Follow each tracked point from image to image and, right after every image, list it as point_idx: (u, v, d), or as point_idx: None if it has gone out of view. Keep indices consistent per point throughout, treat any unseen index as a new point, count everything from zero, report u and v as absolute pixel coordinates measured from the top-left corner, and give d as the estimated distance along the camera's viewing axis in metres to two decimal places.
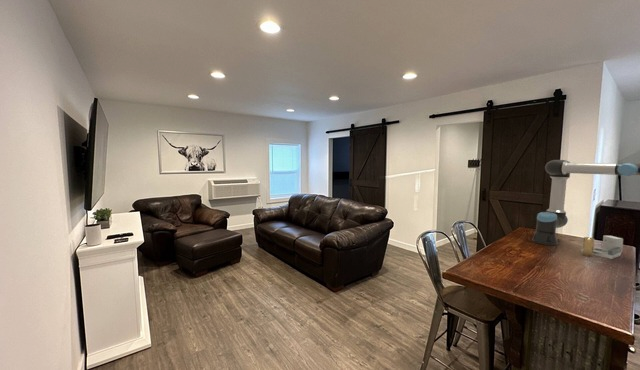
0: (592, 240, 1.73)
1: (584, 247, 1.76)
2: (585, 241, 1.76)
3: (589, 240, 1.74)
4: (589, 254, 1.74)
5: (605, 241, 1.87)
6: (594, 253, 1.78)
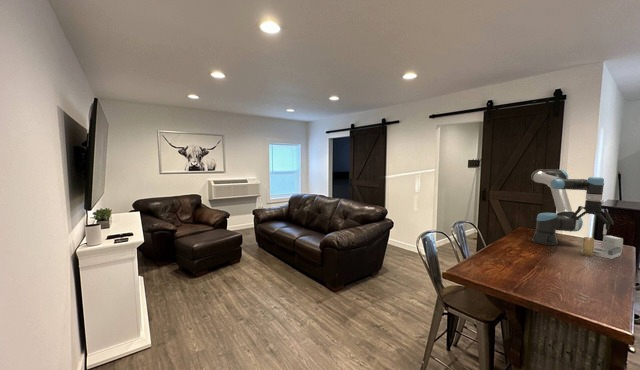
0: (592, 240, 1.73)
1: (584, 247, 1.76)
2: (585, 241, 1.76)
3: (589, 240, 1.74)
4: (589, 254, 1.74)
5: (605, 241, 1.87)
6: (594, 253, 1.78)
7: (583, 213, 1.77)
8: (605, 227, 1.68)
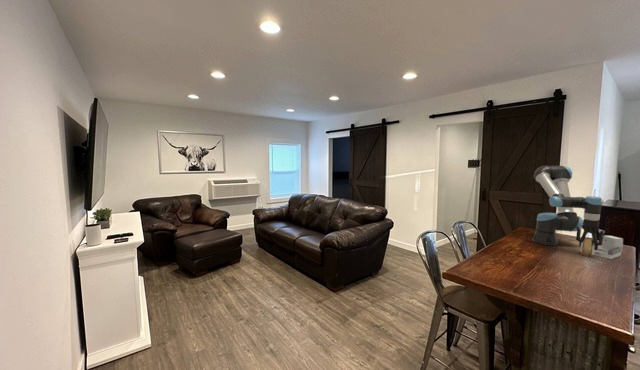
0: (592, 240, 1.73)
1: (584, 247, 1.76)
2: (585, 241, 1.76)
3: (589, 240, 1.74)
4: (589, 254, 1.74)
5: (605, 241, 1.87)
6: None
7: (584, 233, 1.77)
8: (594, 248, 1.73)
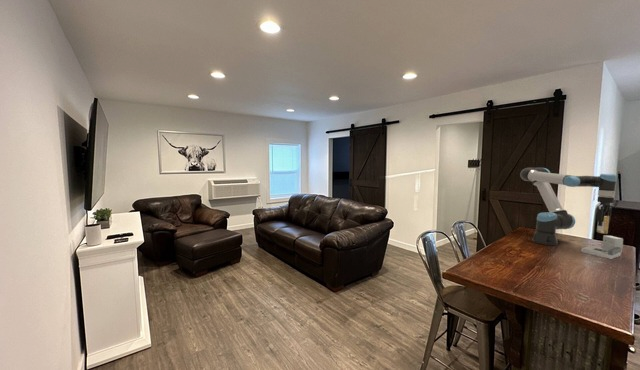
0: None
1: (606, 225, 1.75)
2: (607, 219, 1.75)
3: None
4: None
5: (605, 241, 1.87)
6: (594, 253, 1.78)
7: (604, 212, 1.75)
8: None
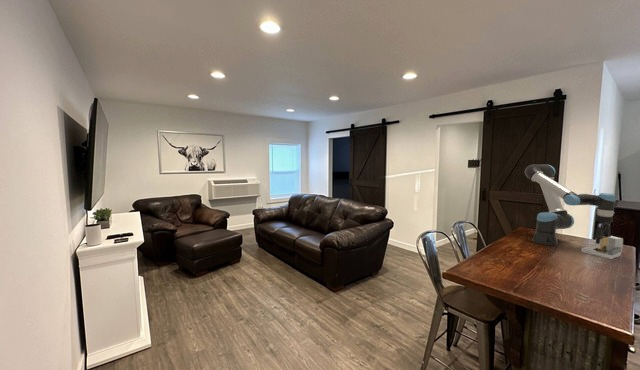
0: None
1: (605, 247, 1.77)
2: (606, 241, 1.77)
3: (607, 239, 1.78)
4: None
5: None
6: (594, 253, 1.78)
7: (603, 230, 1.76)
8: None
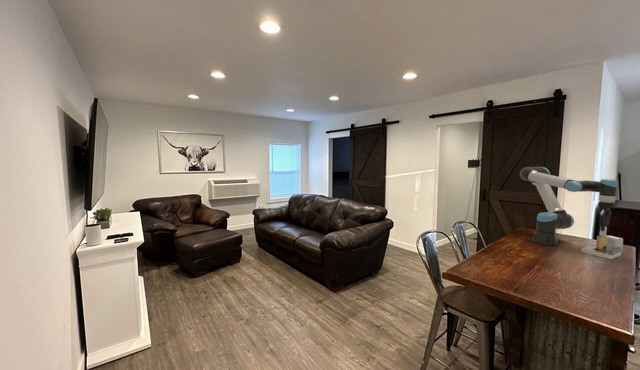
0: None
1: (605, 247, 1.77)
2: (606, 241, 1.77)
3: (607, 239, 1.78)
4: None
5: None
6: (594, 253, 1.78)
7: (606, 217, 1.76)
8: None
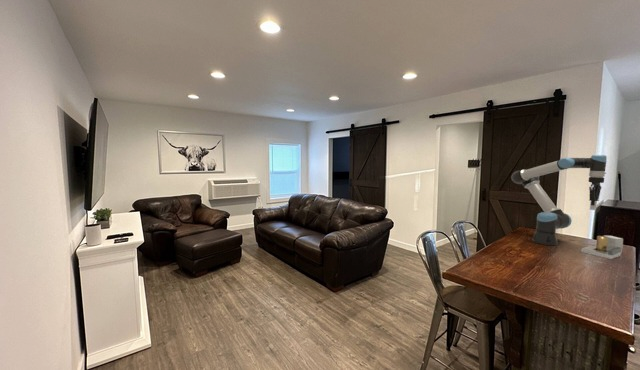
0: None
1: (605, 247, 1.77)
2: (606, 241, 1.77)
3: (607, 239, 1.78)
4: None
5: None
6: (594, 253, 1.78)
7: (596, 191, 1.83)
8: None
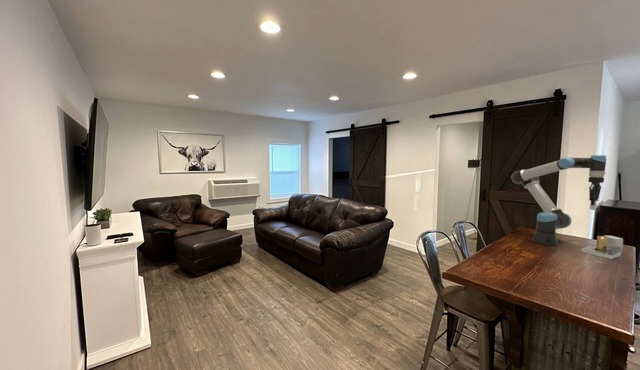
0: None
1: (605, 247, 1.77)
2: (606, 241, 1.77)
3: (607, 239, 1.78)
4: None
5: None
6: (594, 253, 1.78)
7: (596, 191, 1.83)
8: None
